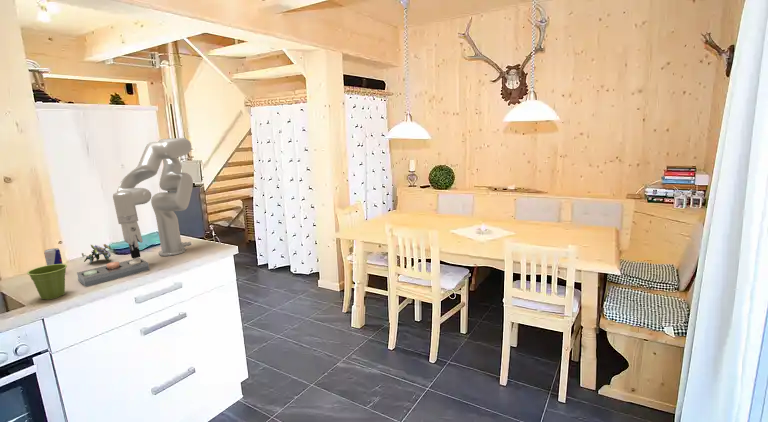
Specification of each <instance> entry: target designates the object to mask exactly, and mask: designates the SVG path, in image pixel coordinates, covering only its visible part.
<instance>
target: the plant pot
mask: <svg viewBox="0 0 768 422" xmlns="http://www.w3.org/2000/svg"><path fill="white" fill-rule="evenodd" d="M67 267H68V264H65V263H63V264H53V265H47V264H46V265H44V266H39V267H35V268H33V269H30V270H28V271H27V272H26V274H27V275H29V277H30V278H31V281H32V282H33V283H34V286H35V288H36V290H37V292H38V294H39V297H40V299H41V300H47V301H48V300H52V299H56V298H59V297H60V296H64V295H65V294H66V288H65V287H66V271H67V269H66V268H67Z"/></svg>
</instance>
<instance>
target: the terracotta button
mask: <svg viewBox="0 0 768 422" xmlns="http://www.w3.org/2000/svg"><path fill="white" fill-rule="evenodd" d="M105 266H107V269H116V268H119V267H120V265H119V261H112V262H111V261H110V262H108V263H106V264H105Z"/></svg>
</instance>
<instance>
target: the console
mask: <svg viewBox="0 0 768 422" xmlns="http://www.w3.org/2000/svg"><path fill="white" fill-rule="evenodd" d="M133 260H141V262H140V263H136V264H132V265H130V264H129V262H130V261H133ZM118 262H119V261H118ZM119 265H120V267H119V268H116V269H107V265H104V266H98V267H95V268H91V269H87V270H82V271H79V272H76V275H77V280H78V282H80V283H81V284H82V285H83V286H84V287H85V288H87V287H90V286H94V285H98V284H101V283H105V282H106V283H107V282H109V281H113V280H114V281H115V280H116V279H121V278H125V277H129V276H132V275H136V274H139V273H143V272H147V271H150V266H149V262H148V261H146V260H144V259H143V258H141V257H138V258H135V259H133V258H131V259H128V260H125V261H121V262H119ZM91 270H97V273H96V274H92V275H88V276H84V272H87V271H91Z"/></svg>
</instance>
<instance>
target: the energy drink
mask: <svg viewBox="0 0 768 422" xmlns="http://www.w3.org/2000/svg"><path fill="white" fill-rule="evenodd" d="M44 258H45V261H46V262H45V263H46V266H47V265H53V264H64V263H63V260H62V255H61V250H60V249H59V248H58V247H57V248H56V247H54V248H49V249H45V250H44Z"/></svg>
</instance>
